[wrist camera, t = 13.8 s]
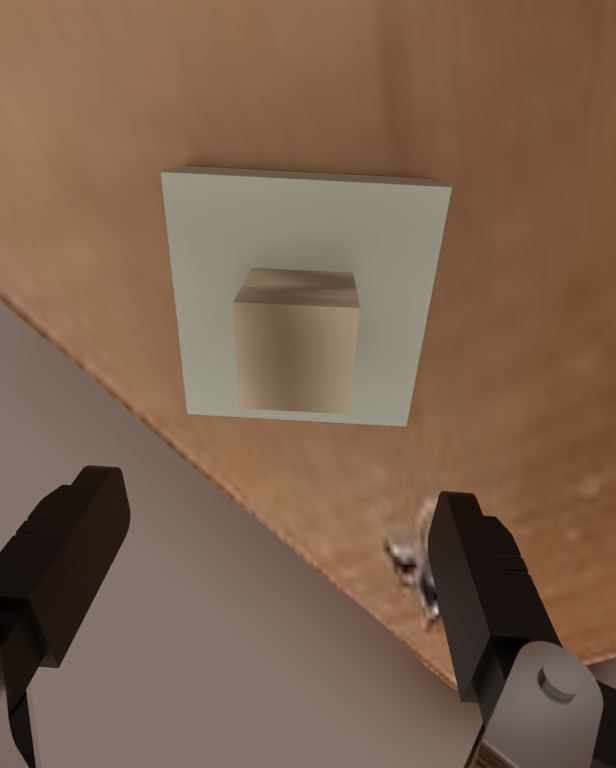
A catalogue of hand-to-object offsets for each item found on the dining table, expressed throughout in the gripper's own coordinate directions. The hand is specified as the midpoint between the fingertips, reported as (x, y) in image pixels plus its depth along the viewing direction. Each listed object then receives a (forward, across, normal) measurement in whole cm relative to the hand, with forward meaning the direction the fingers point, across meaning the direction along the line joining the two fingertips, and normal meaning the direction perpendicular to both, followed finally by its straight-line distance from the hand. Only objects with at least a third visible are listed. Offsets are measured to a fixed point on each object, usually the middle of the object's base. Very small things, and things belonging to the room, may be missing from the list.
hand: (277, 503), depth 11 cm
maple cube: (+13, 0, 0) cm, 13 cm away
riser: (+17, 0, 0) cm, 17 cm away
